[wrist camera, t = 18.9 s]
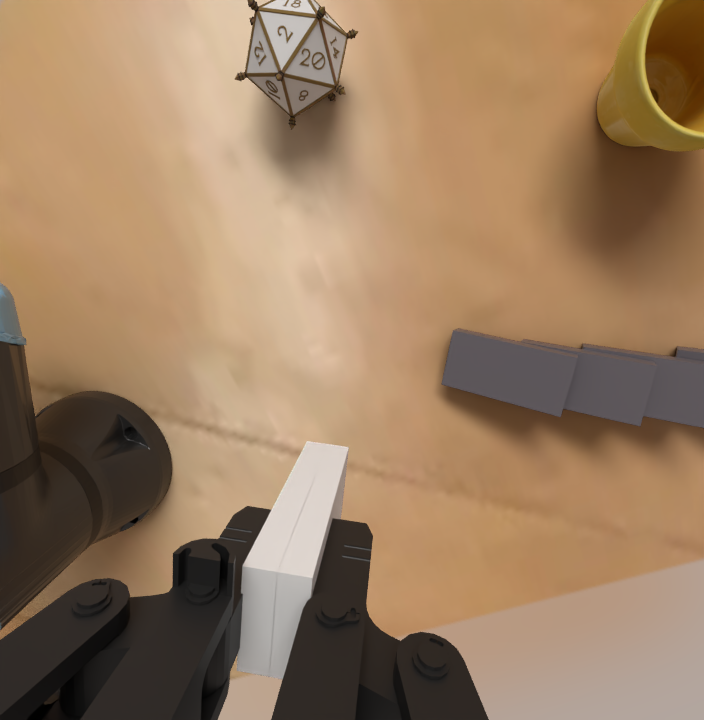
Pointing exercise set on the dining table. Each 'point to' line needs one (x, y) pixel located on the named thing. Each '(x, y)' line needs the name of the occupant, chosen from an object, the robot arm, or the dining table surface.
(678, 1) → the plant pot
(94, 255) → the dining table surface
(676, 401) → the domino
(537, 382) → the domino
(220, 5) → the dining table surface
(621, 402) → the domino
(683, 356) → the domino
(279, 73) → the game die
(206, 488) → the dining table surface
